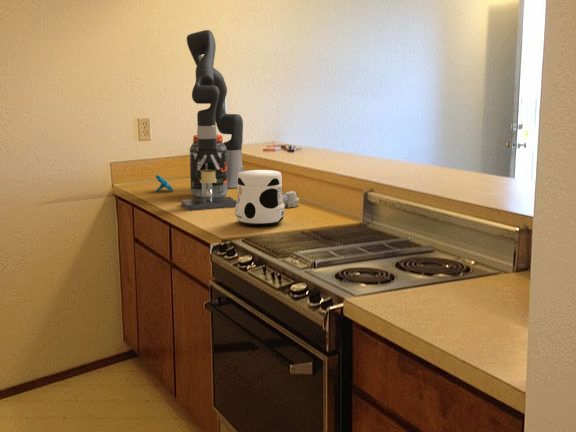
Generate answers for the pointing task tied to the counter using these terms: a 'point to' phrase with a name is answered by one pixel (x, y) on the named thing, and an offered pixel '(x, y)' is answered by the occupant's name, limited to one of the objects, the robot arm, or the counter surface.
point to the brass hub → (208, 176)
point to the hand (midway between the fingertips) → (208, 179)
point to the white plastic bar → (290, 199)
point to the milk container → (259, 197)
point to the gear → (163, 184)
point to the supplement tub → (221, 184)
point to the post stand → (208, 202)
